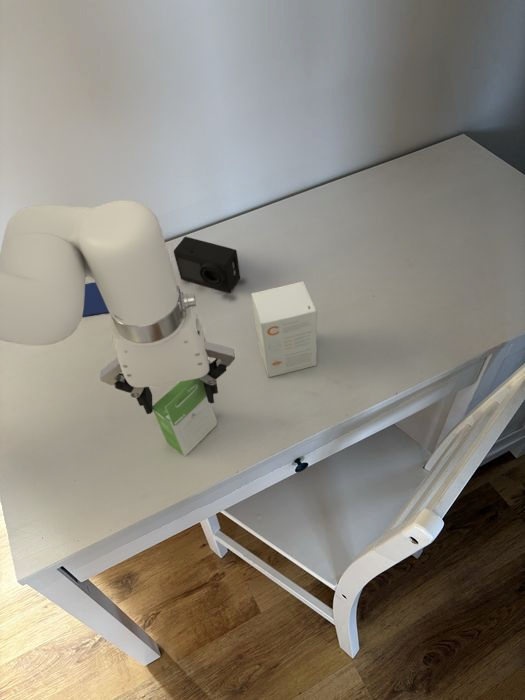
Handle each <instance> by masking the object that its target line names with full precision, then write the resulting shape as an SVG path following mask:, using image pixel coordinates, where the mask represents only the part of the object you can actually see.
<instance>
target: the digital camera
mask: <svg viewBox="0 0 525 700" xmlns="http://www.w3.org/2000/svg"><path fill="white" fill-rule="evenodd" d="M173 256H174V259H175V263H176V266H177V269H178V273H179V277H180V280H183V281H185V282H189V283H192V284H195V285H199V286H202V287H206V288H209V289H212V290H216V291H220V292H223V293H227V294H231V293H232V292H233V290H234V288H235V287H236V285H237V284H238V283H239V281H240V279H241V272H240V266H239V265H240V264H239V259H238V252H237V249H235V248H231V247H227V246H223V245H220V244H216V243H213V242H208V241H205V240H201V239H197V238H193V237H188V236H184V237H183V238H182V239H181V241H180V242H179V243H178V245H177V246H176V247H175V248H174V250H173Z"/></svg>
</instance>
